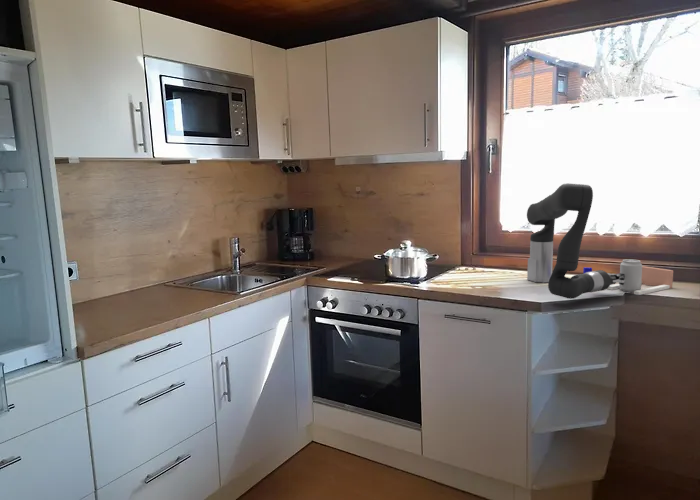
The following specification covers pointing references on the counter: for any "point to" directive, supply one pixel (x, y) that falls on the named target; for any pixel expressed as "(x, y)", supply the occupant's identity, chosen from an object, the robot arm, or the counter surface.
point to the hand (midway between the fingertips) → (622, 276)
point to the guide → (652, 280)
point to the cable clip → (587, 270)
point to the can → (631, 275)
